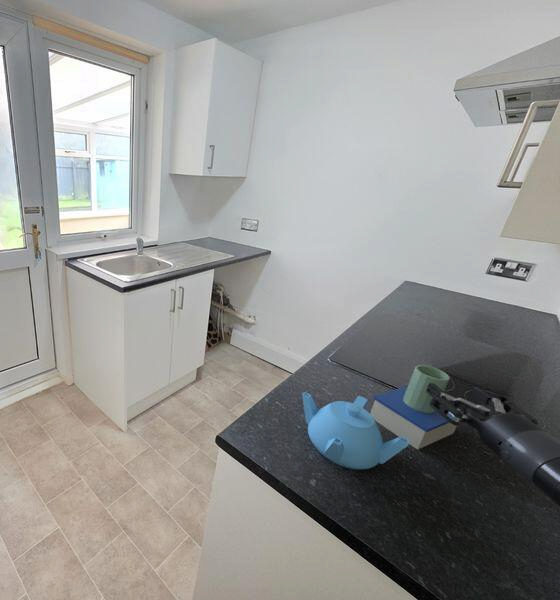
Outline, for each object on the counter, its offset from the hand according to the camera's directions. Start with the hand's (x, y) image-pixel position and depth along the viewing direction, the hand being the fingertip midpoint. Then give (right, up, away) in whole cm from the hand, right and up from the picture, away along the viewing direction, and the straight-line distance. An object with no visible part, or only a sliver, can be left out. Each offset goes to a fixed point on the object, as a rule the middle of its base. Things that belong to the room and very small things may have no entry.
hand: (450, 388), depth 65 cm
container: (0, -12, +10) cm, 16 cm away
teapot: (-22, -14, +2) cm, 26 cm away
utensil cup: (0, -6, +8) cm, 10 cm away
